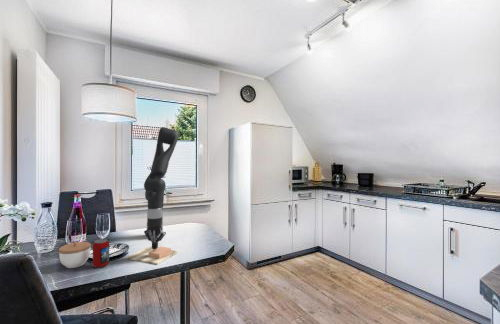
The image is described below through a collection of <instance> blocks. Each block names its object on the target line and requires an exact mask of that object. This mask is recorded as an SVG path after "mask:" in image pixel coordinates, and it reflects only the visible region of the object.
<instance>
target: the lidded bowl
mask: <svg viewBox="0 0 500 324" xmlns="http://www.w3.org/2000/svg"><path fill="white" fill-rule="evenodd" d="M91 247H92V243H91V242H89V241H88V242H87V241H74V242H72V243H68V244H65V245H62V246H61V247H59V248H58V257H59V261H60V263H61V264H62V266H64V267H66V269H75V268H78V267H81V266H83V265H85V263H86V262H87V260H88V259H89V258H90V255H91Z"/></svg>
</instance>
